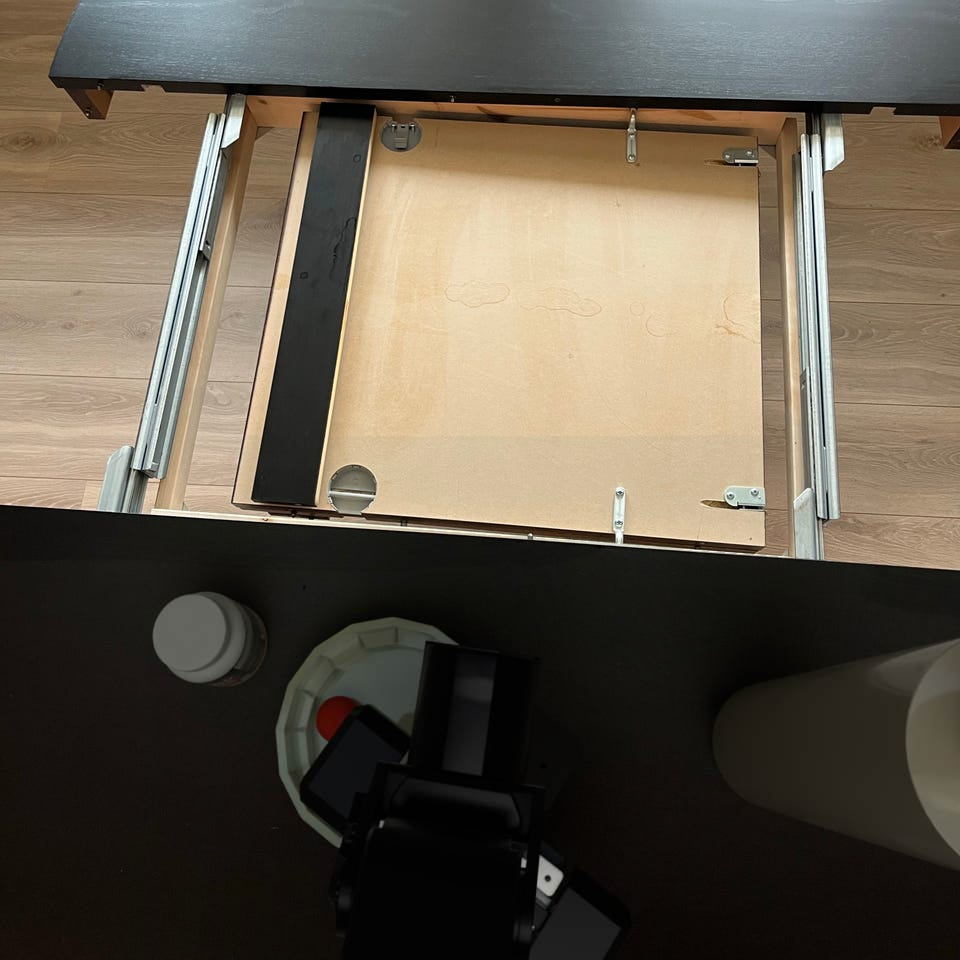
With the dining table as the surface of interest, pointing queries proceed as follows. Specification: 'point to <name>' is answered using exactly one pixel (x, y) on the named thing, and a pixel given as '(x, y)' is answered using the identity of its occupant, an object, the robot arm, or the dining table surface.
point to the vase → (855, 749)
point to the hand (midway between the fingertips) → (468, 835)
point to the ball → (333, 715)
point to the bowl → (350, 693)
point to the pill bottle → (210, 639)
